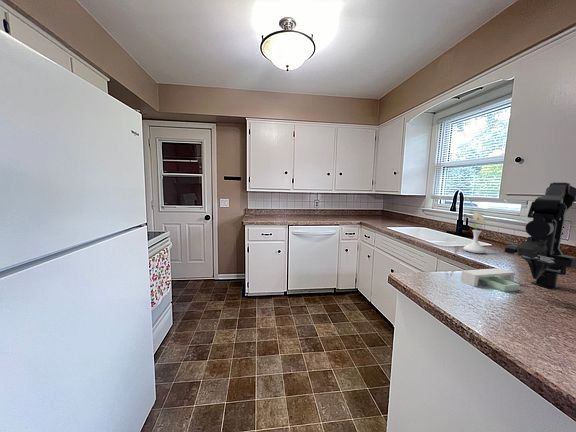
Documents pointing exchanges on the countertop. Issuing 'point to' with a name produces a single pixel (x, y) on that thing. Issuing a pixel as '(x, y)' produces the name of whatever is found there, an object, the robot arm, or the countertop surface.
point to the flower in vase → (476, 236)
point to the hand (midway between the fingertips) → (535, 278)
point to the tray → (500, 284)
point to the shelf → (485, 275)
